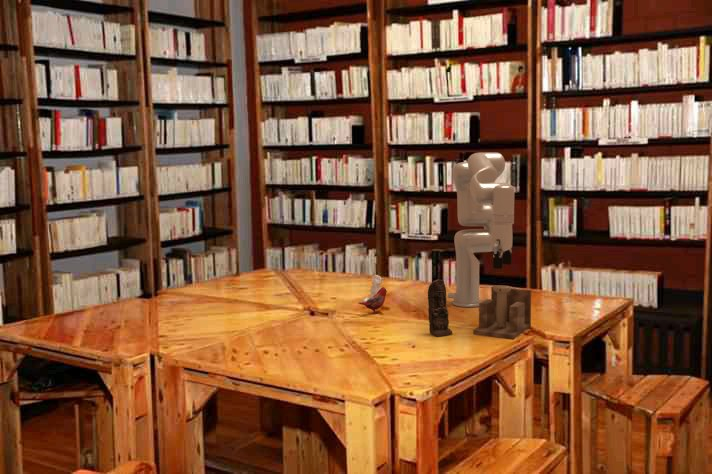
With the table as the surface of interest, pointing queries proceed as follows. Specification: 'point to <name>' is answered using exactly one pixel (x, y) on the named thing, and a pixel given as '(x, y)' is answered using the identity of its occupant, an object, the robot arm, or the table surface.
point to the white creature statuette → (374, 286)
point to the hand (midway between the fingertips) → (502, 266)
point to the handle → (501, 304)
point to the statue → (438, 309)
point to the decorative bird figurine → (375, 300)
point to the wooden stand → (516, 315)
